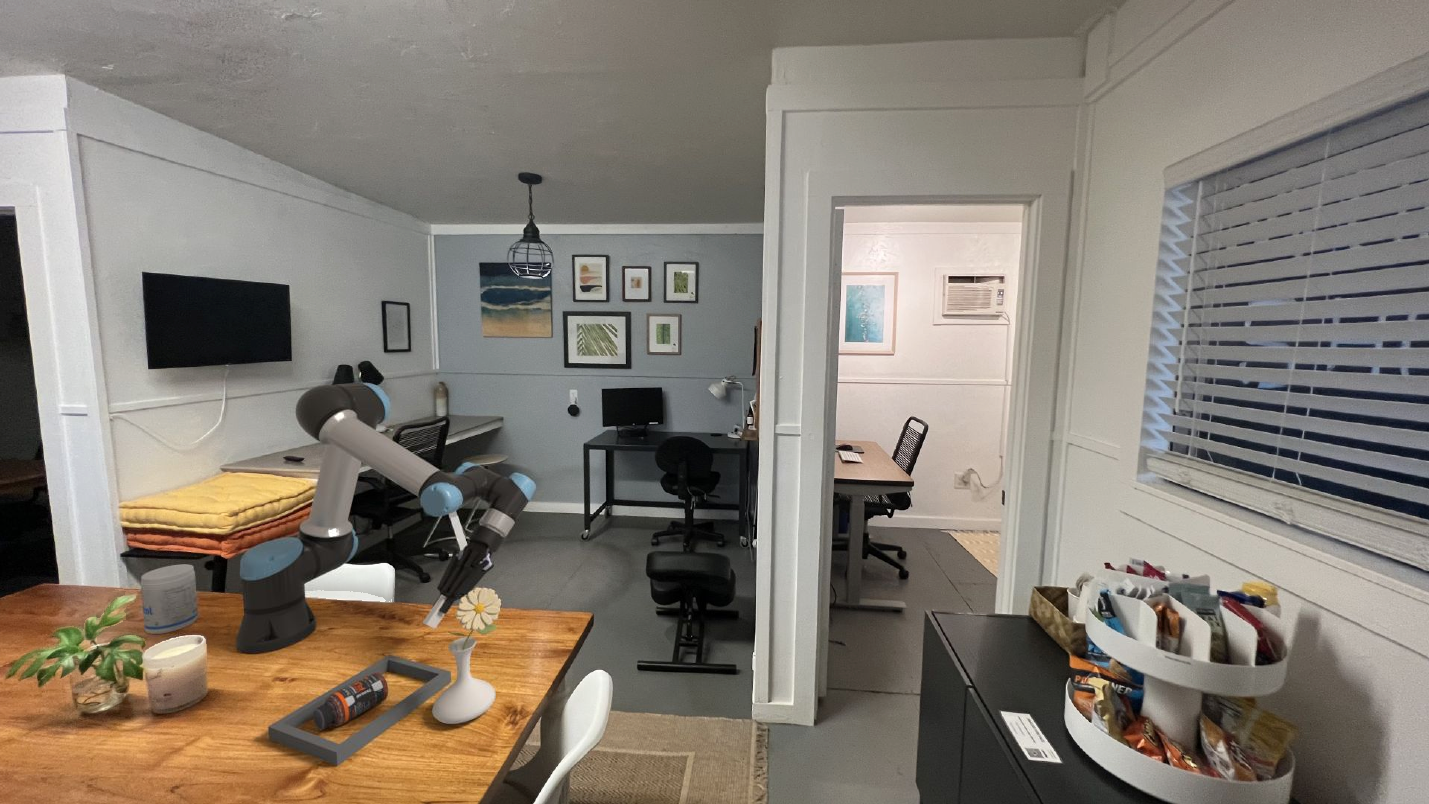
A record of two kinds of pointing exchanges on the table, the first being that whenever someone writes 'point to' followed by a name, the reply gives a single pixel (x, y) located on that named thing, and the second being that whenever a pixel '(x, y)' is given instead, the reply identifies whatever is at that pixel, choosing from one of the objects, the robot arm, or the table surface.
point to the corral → (338, 753)
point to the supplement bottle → (351, 701)
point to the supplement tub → (169, 598)
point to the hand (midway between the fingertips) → (428, 625)
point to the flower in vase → (468, 692)
